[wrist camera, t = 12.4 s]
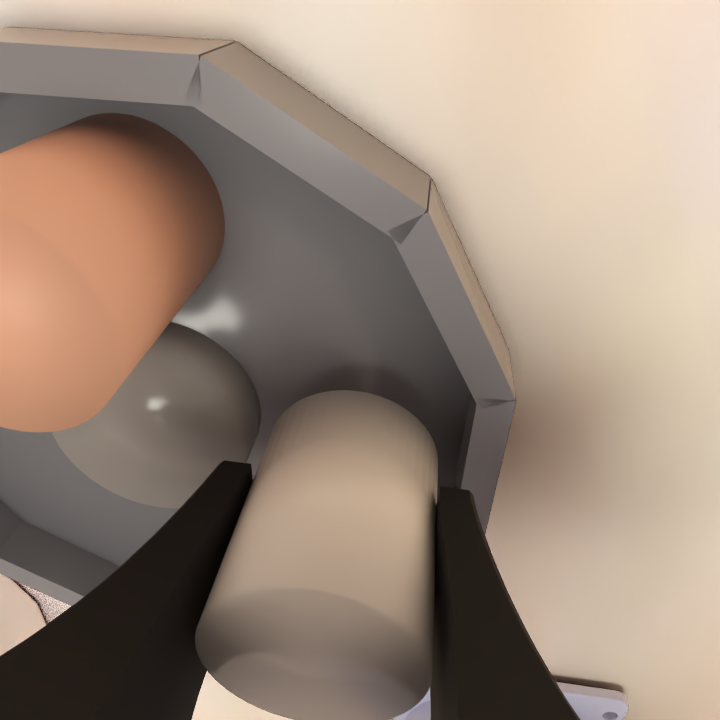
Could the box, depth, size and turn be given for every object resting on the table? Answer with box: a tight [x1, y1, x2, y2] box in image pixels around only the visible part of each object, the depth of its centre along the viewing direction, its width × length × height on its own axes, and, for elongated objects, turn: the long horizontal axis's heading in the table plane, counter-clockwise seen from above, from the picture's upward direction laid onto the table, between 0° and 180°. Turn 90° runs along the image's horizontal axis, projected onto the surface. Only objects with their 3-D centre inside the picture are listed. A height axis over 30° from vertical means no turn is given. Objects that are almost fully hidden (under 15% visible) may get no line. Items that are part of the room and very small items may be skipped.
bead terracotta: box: [0, 113, 225, 432], centre depth 11 cm, size 4×4×5 cm
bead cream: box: [195, 390, 438, 720], centre depth 12 cm, size 4×4×5 cm
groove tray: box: [0, 27, 516, 606], centre depth 16 cm, size 17×17×2 cm
